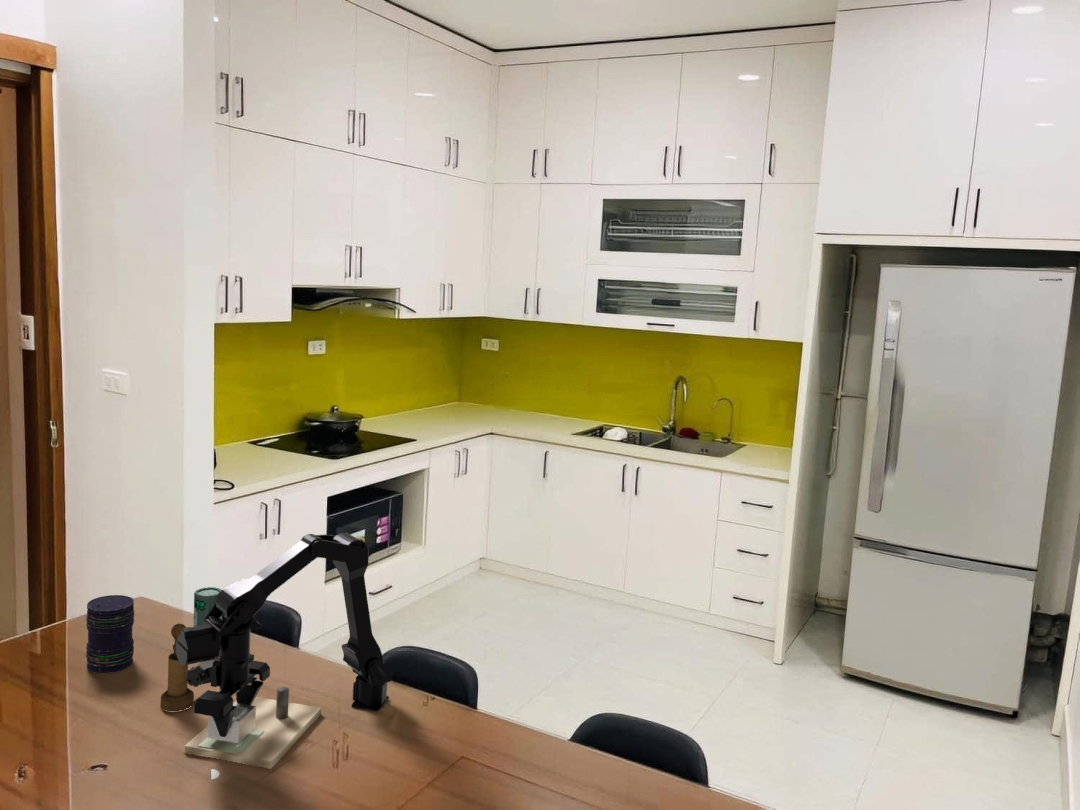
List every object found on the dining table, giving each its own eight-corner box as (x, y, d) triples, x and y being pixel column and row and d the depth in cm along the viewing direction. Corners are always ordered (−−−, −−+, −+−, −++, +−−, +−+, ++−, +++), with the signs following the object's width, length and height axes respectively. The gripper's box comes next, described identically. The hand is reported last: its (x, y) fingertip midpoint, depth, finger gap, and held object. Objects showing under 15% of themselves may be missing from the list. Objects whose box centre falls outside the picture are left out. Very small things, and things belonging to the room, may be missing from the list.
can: (197, 644, 213) (199, 586, 211) (223, 645, 214) (224, 587, 212) (190, 655, 207) (191, 595, 205) (216, 656, 208) (218, 596, 206)
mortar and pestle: (181, 715, 180) (183, 633, 177) (153, 709, 181) (155, 628, 179) (200, 700, 186) (201, 621, 184) (173, 695, 188) (174, 616, 185)
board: (321, 714, 184) (322, 681, 183) (270, 769, 163) (272, 731, 162) (243, 701, 187) (244, 668, 186) (184, 753, 166) (185, 716, 165)
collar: (255, 727, 172) (255, 706, 171) (238, 743, 166) (239, 721, 165) (225, 722, 173) (226, 701, 172) (208, 738, 167) (208, 716, 166)
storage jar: (119, 651, 207) (120, 591, 205) (142, 664, 201) (143, 603, 199) (77, 664, 198) (77, 602, 196) (99, 678, 193) (100, 614, 191)
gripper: (222, 628, 178) (220, 699, 180) (167, 666, 159) (166, 745, 161) (272, 636, 176) (270, 708, 178) (222, 675, 157) (220, 755, 160)
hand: (232, 727), depth 169 cm, fingers closed on collar, 6 cm apart
